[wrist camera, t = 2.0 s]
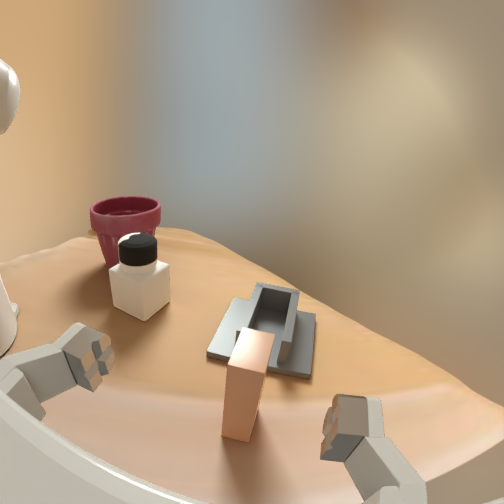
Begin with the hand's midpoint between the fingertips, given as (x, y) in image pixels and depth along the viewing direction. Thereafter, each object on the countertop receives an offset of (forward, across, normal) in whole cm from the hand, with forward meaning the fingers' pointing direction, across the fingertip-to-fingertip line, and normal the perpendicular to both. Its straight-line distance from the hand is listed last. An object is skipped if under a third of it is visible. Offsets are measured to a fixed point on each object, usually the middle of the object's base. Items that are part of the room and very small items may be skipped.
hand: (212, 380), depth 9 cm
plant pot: (+39, +31, +21) cm, 55 cm away
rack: (+28, 0, +21) cm, 35 cm away
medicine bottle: (+28, +21, +21) cm, 41 cm away
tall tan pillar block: (+12, 0, +22) cm, 25 cm away
